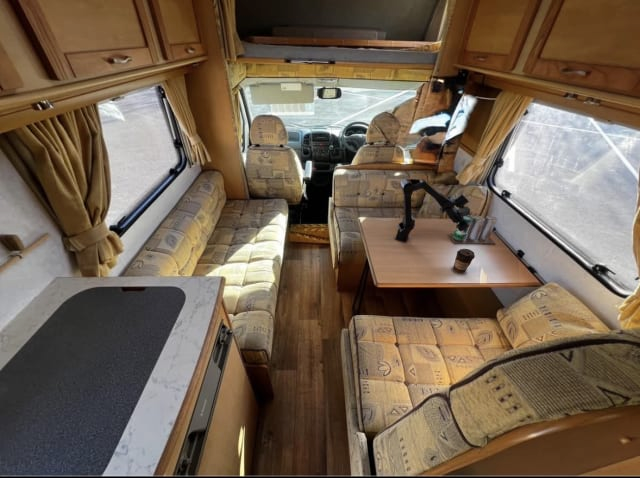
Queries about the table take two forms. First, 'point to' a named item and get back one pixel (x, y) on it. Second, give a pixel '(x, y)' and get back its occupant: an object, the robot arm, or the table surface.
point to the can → (461, 234)
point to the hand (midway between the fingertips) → (464, 228)
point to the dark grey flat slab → (477, 241)
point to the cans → (485, 228)
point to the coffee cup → (463, 260)
